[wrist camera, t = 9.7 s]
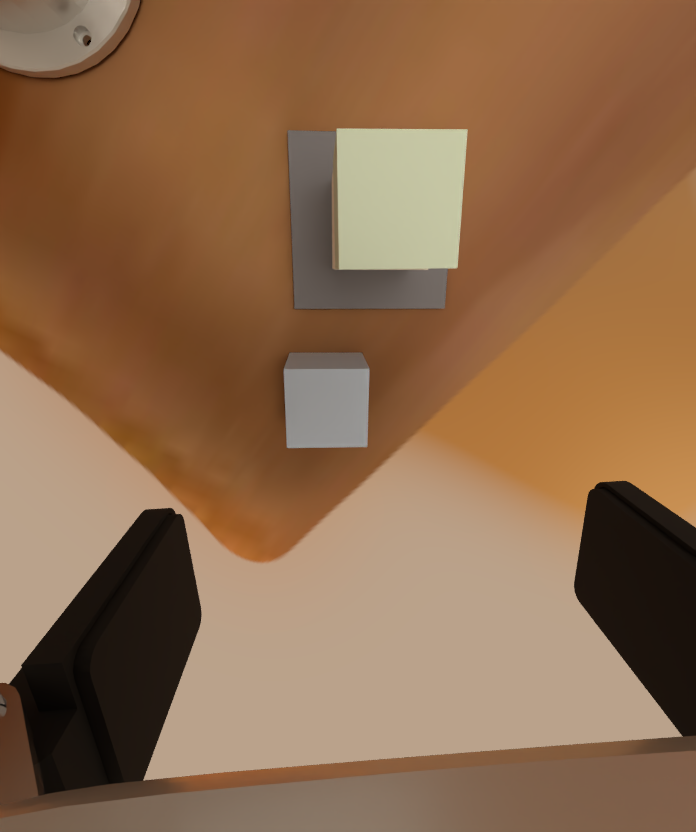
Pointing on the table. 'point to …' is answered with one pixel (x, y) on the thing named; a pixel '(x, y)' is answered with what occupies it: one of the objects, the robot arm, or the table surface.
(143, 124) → the table surface
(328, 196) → the mat
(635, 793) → the robot arm
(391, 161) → the pale green cube
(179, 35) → the table surface
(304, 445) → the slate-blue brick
